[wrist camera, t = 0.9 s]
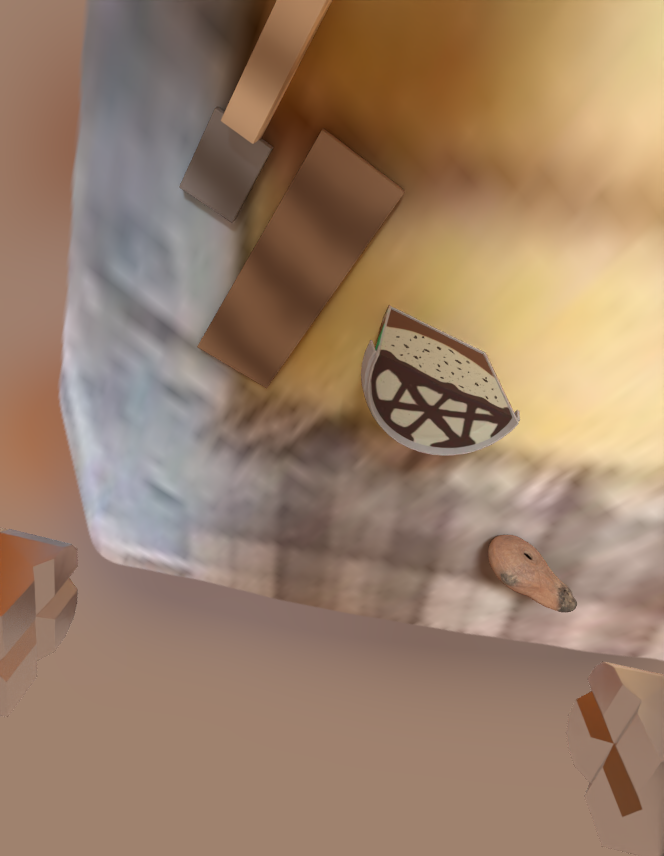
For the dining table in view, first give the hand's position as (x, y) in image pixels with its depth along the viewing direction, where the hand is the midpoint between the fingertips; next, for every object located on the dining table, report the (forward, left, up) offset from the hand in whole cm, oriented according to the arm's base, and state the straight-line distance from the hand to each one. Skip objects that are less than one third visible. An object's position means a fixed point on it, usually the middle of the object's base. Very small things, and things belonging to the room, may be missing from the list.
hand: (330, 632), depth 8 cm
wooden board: (+9, -1, -37) cm, 38 cm away
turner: (0, -9, -37) cm, 38 cm away
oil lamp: (+21, +35, -37) cm, 55 cm away
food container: (+10, +12, -37) cm, 40 cm away
